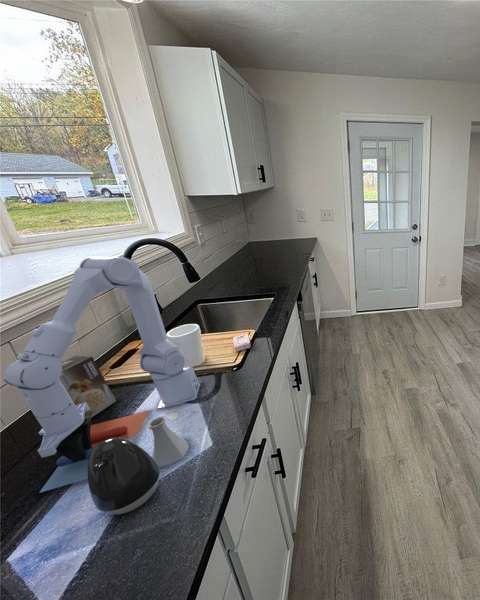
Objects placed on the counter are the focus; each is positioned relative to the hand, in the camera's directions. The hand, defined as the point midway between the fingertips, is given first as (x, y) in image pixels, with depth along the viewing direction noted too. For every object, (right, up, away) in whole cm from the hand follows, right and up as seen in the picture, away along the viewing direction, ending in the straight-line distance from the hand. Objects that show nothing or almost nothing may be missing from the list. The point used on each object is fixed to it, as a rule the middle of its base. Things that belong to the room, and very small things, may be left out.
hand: (83, 455), depth 72 cm
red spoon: (-3, 0, +7) cm, 8 cm away
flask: (+19, -1, +2) cm, 19 cm away
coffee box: (-15, +3, +18) cm, 24 cm away
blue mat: (+1, -2, +1) cm, 3 cm away
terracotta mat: (-3, +1, +10) cm, 10 cm away
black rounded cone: (+19, -5, -8) cm, 21 cm away
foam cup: (0, +13, +39) cm, 41 cm away
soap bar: (+12, +19, +48) cm, 53 cm away
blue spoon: (+1, -1, +1) cm, 2 cm away
